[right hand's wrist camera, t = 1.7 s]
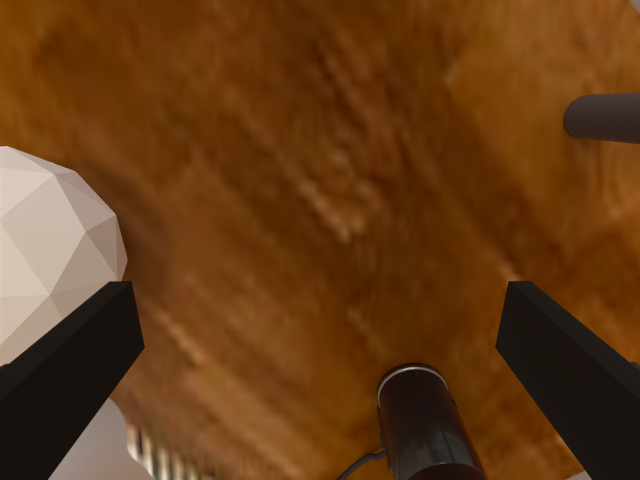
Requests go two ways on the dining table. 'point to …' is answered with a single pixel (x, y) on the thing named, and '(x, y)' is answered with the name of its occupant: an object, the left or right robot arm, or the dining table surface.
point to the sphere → (49, 247)
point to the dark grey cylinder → (605, 117)
